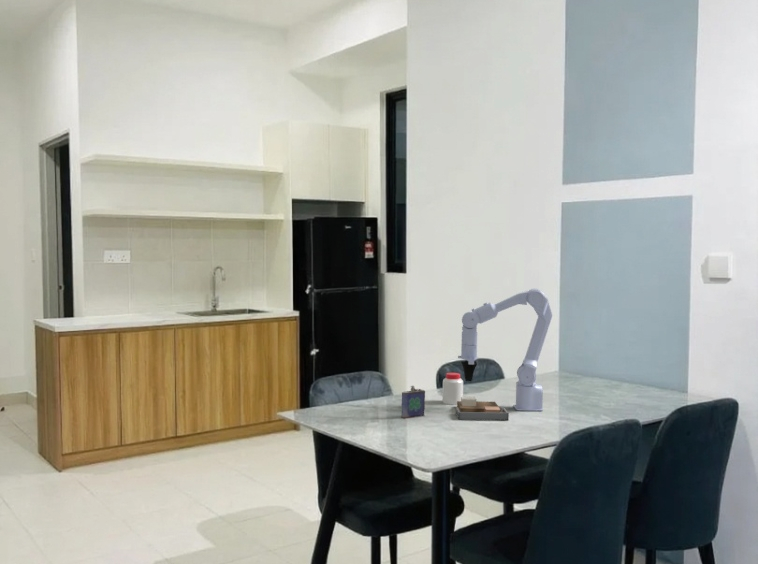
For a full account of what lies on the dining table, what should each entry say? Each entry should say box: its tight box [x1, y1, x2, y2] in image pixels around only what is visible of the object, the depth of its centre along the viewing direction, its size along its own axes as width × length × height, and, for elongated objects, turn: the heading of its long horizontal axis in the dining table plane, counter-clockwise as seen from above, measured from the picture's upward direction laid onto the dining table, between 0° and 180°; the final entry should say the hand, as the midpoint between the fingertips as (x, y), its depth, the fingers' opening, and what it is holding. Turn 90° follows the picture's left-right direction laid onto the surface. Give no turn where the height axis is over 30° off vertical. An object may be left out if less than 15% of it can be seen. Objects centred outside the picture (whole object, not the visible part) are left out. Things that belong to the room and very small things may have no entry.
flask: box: [401, 385, 426, 419], centre depth 251 cm, size 9×3×11 cm, turn 121°
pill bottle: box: [442, 372, 464, 406], centre depth 274 cm, size 8×8×11 cm
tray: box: [455, 406, 510, 421], centre depth 251 cm, size 17×9×2 cm, turn 89°
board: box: [456, 400, 499, 412], centre depth 262 cm, size 14×12×2 cm
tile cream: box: [461, 395, 477, 406], centre depth 261 cm, size 5×5×2 cm
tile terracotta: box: [484, 406, 501, 413], centre depth 252 cm, size 5×5×2 cm
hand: (468, 381), depth 268 cm, fingers closed
